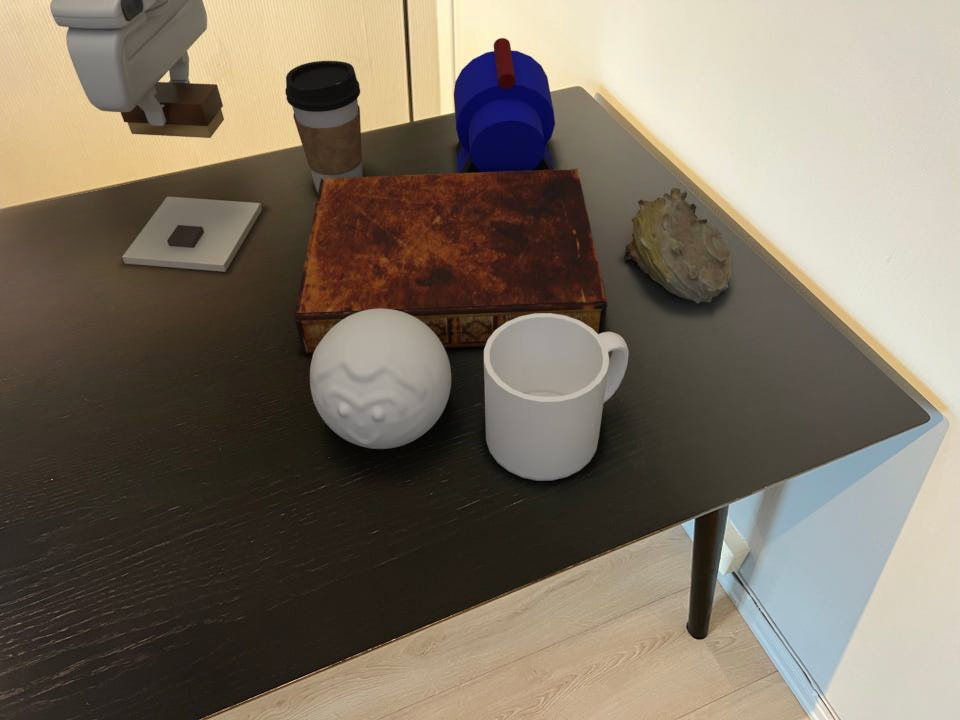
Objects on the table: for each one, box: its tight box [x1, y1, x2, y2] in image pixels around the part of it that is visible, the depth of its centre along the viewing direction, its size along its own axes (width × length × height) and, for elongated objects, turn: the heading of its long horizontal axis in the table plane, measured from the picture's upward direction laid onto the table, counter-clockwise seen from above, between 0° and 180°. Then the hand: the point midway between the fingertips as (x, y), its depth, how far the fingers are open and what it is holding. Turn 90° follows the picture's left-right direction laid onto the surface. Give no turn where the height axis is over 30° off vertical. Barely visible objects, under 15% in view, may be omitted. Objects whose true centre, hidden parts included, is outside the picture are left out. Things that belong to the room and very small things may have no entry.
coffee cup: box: [285, 60, 364, 194], centre depth 94 cm, size 8×8×15 cm
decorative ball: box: [309, 309, 452, 450], centre depth 68 cm, size 12×12×12 cm
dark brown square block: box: [167, 225, 204, 248], centre depth 90 cm, size 3×3×1 cm
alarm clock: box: [453, 37, 556, 173], centre depth 97 cm, size 12×12×15 cm
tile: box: [121, 196, 263, 273], centre depth 92 cm, size 12×12×1 cm
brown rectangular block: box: [120, 81, 225, 139], centre depth 85 cm, size 9×4×4 cm, turn 81°
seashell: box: [623, 187, 733, 305], centre depth 83 cm, size 11×14×10 cm
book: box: [293, 168, 608, 355], centre depth 85 cm, size 30×24×5 cm
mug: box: [483, 313, 630, 482], centre depth 67 cm, size 13×10×10 cm
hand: (171, 109), depth 85 cm, fingers closed on brown rectangular block, 4 cm apart
